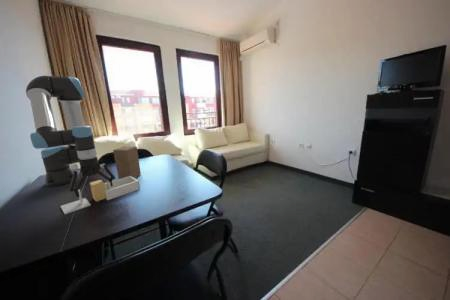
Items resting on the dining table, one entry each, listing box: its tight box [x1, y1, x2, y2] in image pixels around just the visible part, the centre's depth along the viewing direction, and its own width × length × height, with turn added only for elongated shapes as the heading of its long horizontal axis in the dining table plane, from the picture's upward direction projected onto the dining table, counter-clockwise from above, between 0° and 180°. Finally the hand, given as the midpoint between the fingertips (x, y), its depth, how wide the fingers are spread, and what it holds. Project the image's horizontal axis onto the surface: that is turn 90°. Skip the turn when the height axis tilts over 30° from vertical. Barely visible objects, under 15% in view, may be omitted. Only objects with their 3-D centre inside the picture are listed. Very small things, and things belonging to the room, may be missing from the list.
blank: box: [89, 179, 107, 202], centre depth 98 cm, size 5×5×9 cm
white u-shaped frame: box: [104, 176, 141, 201], centre depth 106 cm, size 12×17×5 cm
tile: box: [60, 197, 92, 215], centre depth 91 cm, size 10×10×1 cm
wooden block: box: [112, 145, 142, 180], centre depth 124 cm, size 10×10×20 cm
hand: (96, 197), depth 98 cm, fingers open, 12 cm apart
